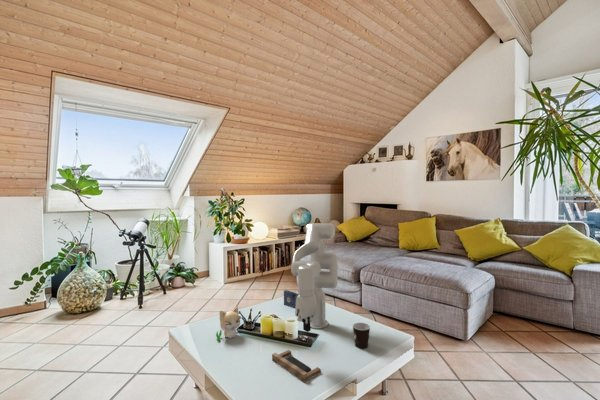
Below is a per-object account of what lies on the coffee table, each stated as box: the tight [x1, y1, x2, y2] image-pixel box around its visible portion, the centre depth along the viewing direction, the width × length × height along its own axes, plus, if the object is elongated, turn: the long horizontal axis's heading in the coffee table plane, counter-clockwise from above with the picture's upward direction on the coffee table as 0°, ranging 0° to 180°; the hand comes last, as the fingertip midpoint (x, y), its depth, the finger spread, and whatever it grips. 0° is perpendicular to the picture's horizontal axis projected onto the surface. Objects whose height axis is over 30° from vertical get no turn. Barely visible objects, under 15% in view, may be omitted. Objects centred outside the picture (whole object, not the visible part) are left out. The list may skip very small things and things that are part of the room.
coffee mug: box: [352, 322, 371, 350], centre depth 159 cm, size 12×9×10 cm
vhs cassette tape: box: [283, 289, 298, 309], centre depth 209 cm, size 18×3×10 cm, turn 46°
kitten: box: [215, 306, 241, 341], centre depth 168 cm, size 15×10×15 cm
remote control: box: [285, 355, 312, 373], centre depth 140 cm, size 5×2×15 cm
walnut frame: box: [271, 349, 322, 383], centre depth 139 cm, size 22×10×3 cm, turn 42°
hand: (306, 330), depth 144 cm, fingers closed
